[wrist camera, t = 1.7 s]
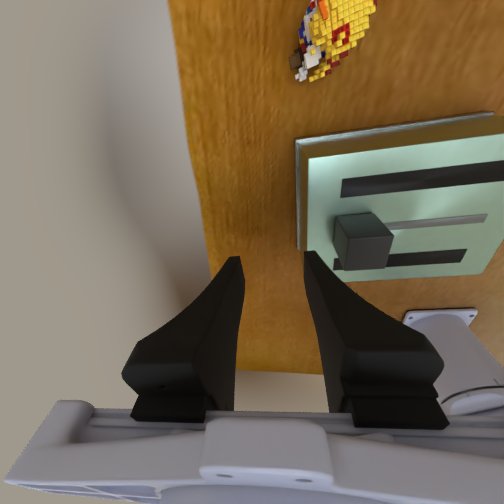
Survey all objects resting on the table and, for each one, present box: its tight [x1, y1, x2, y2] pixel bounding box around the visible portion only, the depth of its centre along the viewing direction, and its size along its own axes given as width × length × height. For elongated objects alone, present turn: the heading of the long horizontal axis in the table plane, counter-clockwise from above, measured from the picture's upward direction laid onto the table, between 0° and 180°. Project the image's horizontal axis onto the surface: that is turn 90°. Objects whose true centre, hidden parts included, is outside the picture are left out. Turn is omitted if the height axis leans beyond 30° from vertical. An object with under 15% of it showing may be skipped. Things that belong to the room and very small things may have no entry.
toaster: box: [294, 111, 504, 282], centre depth 17 cm, size 10×13×6 cm
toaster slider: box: [333, 213, 394, 271], centre depth 14 cm, size 2×2×3 cm
